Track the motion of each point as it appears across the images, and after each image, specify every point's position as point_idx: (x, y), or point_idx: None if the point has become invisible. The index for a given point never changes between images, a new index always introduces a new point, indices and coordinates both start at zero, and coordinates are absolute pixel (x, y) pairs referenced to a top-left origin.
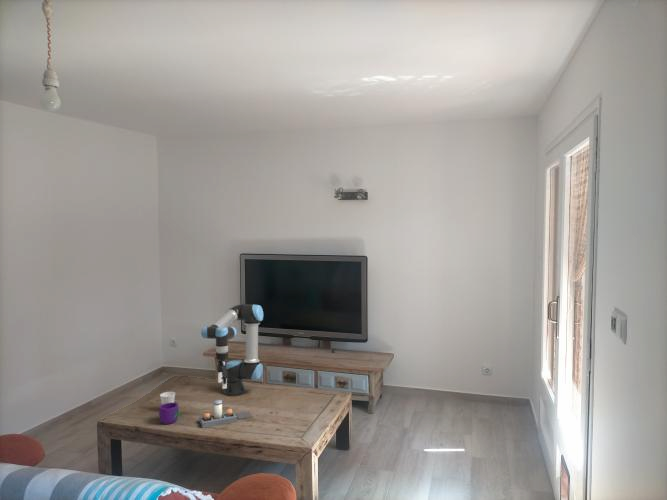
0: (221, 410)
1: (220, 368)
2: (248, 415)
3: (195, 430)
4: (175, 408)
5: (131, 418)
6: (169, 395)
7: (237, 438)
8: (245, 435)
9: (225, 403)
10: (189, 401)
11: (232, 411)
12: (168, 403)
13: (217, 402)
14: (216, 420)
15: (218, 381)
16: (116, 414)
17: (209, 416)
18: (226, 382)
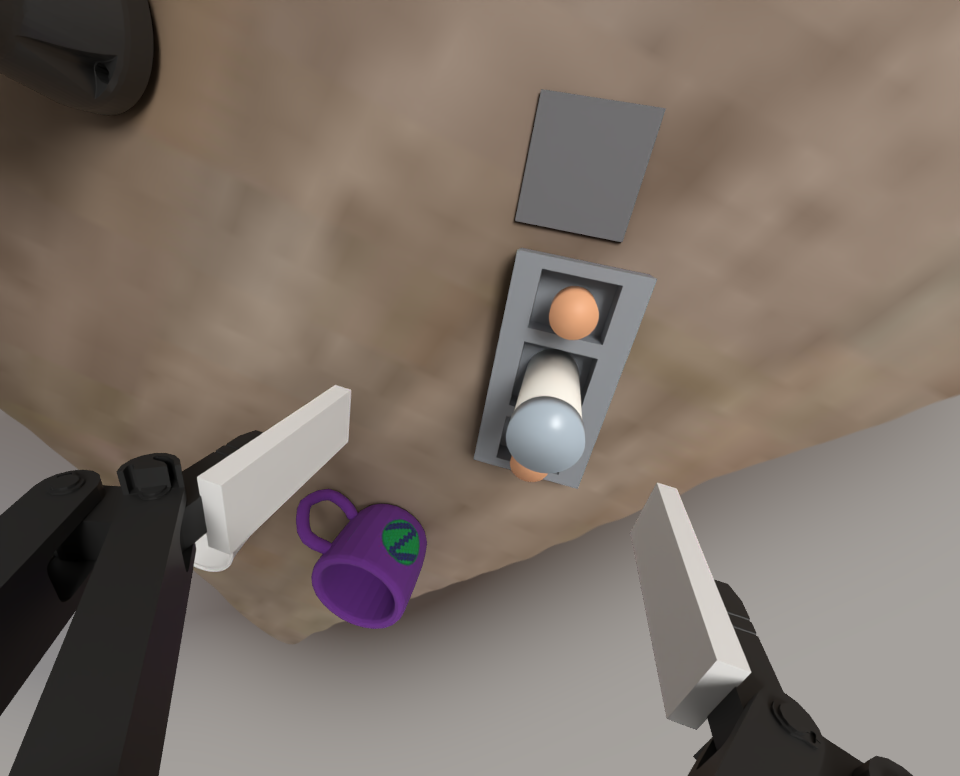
0: (576, 389)
1: (166, 653)
2: (618, 136)
3: (580, 507)
4: (398, 580)
5: (296, 593)
6: None
7: (916, 406)
8: (935, 342)
9: (275, 186)
10: (177, 359)
11: (524, 254)
12: (318, 579)
13: (573, 457)
14: (601, 418)
15: (337, 449)
16: (239, 602)
17: None
18: (707, 573)
